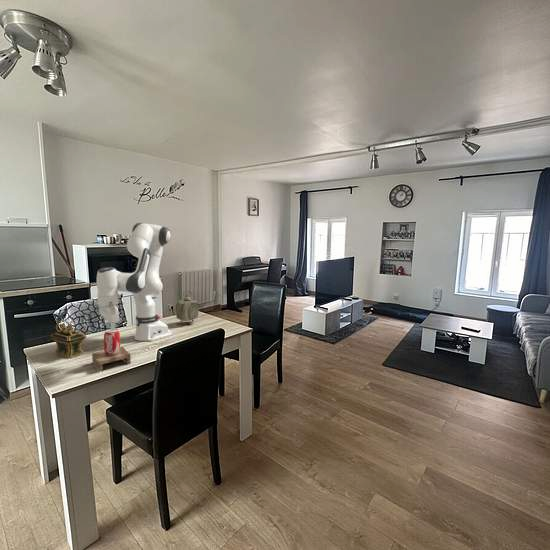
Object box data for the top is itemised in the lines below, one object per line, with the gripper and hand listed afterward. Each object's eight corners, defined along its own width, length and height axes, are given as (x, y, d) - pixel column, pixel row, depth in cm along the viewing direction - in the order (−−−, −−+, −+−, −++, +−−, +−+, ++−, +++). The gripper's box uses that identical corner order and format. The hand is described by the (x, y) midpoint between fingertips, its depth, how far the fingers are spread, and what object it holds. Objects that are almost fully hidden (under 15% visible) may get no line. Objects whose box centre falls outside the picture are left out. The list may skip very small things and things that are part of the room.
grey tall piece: (193, 320, 220) (193, 288, 216) (199, 323, 214) (199, 290, 210) (175, 324, 209) (175, 291, 206) (182, 327, 203) (181, 293, 200)
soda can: (122, 353, 144) (121, 330, 143) (106, 357, 139) (105, 333, 138) (118, 349, 149) (117, 327, 148) (102, 352, 144) (101, 330, 143)
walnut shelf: (122, 355, 154) (122, 346, 153) (130, 363, 145) (130, 354, 144) (92, 362, 144) (92, 353, 144) (99, 372, 135) (98, 361, 134)
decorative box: (88, 353, 156) (86, 318, 153) (69, 360, 147) (67, 323, 144) (66, 346, 164) (63, 313, 161) (47, 352, 155) (44, 317, 153)
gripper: (121, 303, 135) (123, 331, 137) (109, 296, 150) (111, 321, 151) (106, 305, 131) (108, 334, 132) (95, 297, 145) (97, 324, 147)
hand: (109, 327), depth 142 cm, fingers open, 8 cm apart
